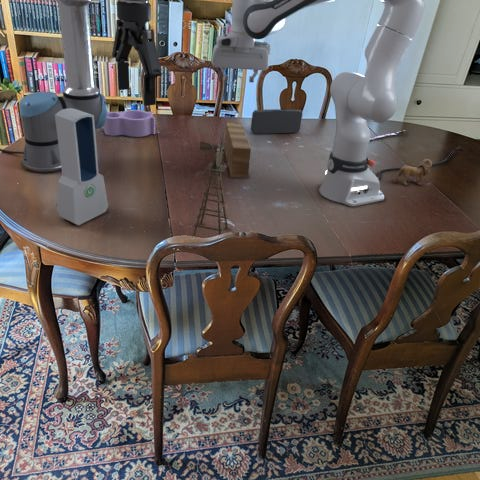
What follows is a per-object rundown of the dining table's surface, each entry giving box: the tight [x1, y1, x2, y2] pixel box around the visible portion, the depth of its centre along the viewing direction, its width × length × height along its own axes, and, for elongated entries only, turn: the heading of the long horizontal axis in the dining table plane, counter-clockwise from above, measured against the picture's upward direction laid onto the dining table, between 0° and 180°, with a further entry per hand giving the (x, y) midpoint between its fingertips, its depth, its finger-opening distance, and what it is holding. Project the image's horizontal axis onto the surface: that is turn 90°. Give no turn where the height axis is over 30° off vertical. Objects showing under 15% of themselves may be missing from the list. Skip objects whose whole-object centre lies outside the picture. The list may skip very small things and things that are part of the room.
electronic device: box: [55, 108, 109, 226], centre depth 126 cm, size 12×8×30 cm, turn 148°
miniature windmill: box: [192, 132, 229, 237], centre depth 124 cm, size 9×8×30 cm
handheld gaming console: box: [250, 108, 303, 135], centre depth 204 cm, size 23×3×10 cm, turn 108°
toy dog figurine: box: [392, 158, 433, 186], centre depth 172 cm, size 15×5×9 cm, turn 110°
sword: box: [370, 131, 408, 142], centre depth 215 cm, size 31×3×1 cm, turn 126°
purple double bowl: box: [103, 109, 156, 138], centre depth 190 cm, size 20×12×7 cm, turn 109°
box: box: [223, 121, 252, 179], centre depth 173 cm, size 26×6×11 cm, turn 7°
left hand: (136, 97), depth 115 cm, fingers open, 13 cm apart
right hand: (238, 81), depth 168 cm, fingers open, 8 cm apart
